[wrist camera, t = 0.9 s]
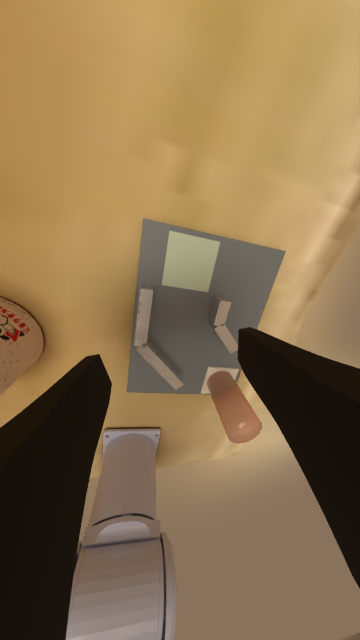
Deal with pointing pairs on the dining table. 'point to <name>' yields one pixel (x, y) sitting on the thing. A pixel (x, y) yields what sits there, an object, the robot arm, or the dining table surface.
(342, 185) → the dining table surface
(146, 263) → the board
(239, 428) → the peg
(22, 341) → the teacup with lid
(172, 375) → the rails
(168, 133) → the dining table surface
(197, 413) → the dining table surface
